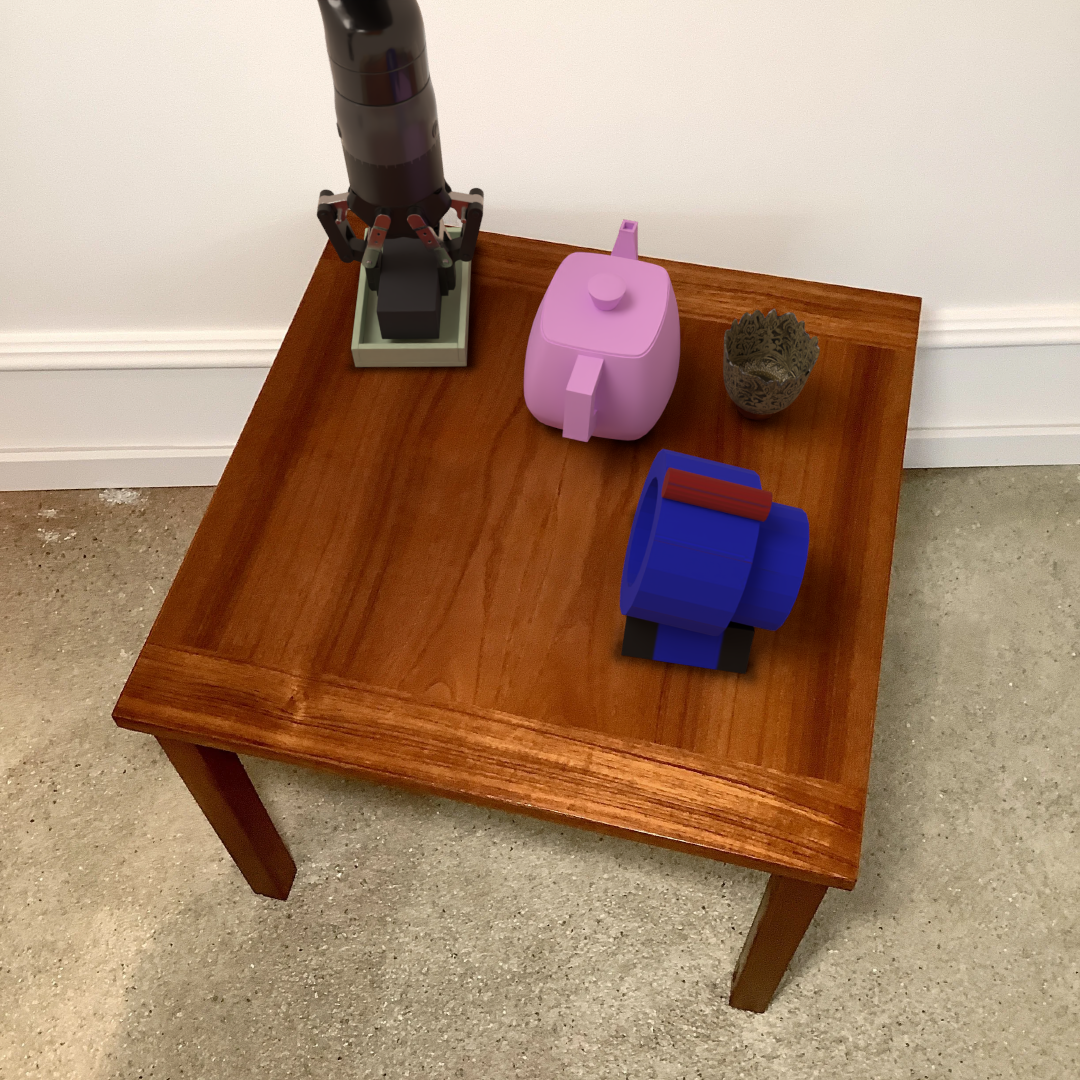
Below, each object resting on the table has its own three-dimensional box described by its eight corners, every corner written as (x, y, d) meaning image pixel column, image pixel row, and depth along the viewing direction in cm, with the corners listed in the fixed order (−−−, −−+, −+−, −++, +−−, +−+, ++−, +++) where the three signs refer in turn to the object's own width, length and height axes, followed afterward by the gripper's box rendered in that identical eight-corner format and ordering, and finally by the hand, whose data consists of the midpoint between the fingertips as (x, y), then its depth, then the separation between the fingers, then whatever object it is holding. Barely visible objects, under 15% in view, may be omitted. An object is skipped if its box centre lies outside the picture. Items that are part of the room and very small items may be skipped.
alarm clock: (631, 515, 87) (645, 395, 74) (787, 537, 85) (829, 419, 73) (610, 653, 80) (621, 548, 68) (778, 678, 79) (822, 576, 66)
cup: (816, 426, 91) (837, 362, 84) (737, 453, 90) (752, 390, 83) (773, 362, 95) (790, 297, 88) (697, 387, 93) (708, 322, 87)
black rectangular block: (390, 249, 100) (385, 219, 97) (444, 248, 100) (441, 219, 97) (381, 339, 95) (376, 311, 92) (439, 339, 95) (435, 310, 92)
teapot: (650, 498, 88) (664, 397, 77) (500, 467, 89) (493, 365, 78) (693, 317, 98) (710, 206, 87) (558, 293, 99) (558, 181, 88)
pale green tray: (355, 367, 95) (350, 348, 93) (369, 247, 103) (365, 227, 101) (466, 366, 95) (464, 347, 93) (471, 246, 103) (470, 226, 101)
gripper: (485, 96, 85) (494, 258, 99) (300, 97, 85) (337, 260, 99) (482, 161, 81) (493, 320, 95) (289, 162, 81) (329, 321, 95)
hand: (413, 288), depth 97 cm, fingers closed on black rectangular block, 5 cm apart
